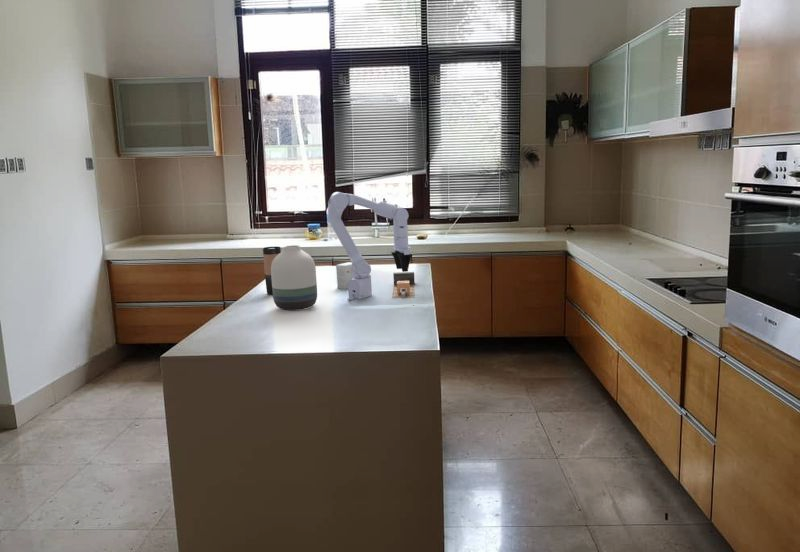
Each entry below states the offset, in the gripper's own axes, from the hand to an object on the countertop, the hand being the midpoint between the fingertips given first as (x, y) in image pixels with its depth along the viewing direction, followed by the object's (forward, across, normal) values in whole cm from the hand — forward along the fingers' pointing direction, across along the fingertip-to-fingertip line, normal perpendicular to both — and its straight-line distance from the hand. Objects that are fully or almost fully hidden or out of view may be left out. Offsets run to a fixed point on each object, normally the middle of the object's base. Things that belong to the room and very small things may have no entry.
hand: (402, 270), depth 262 cm
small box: (+11, +29, +17) cm, 35 cm away
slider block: (+9, -2, 0) cm, 9 cm away
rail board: (+10, +4, -1) cm, 11 cm away
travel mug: (+11, +31, +49) cm, 59 cm away
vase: (+11, -3, +44) cm, 46 cm away
